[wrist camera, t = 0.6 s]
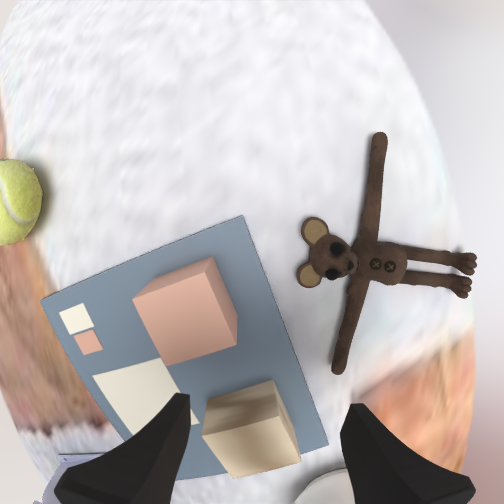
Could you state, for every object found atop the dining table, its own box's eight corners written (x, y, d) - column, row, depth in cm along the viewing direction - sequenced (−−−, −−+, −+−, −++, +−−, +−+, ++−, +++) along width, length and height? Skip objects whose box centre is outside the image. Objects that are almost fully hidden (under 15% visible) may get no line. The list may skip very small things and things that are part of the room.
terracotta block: (179, 334, 21) (166, 366, 17) (153, 278, 21) (132, 299, 16) (237, 315, 21) (236, 344, 17) (212, 255, 20) (204, 271, 16)
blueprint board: (161, 478, 25) (159, 482, 24) (43, 298, 21) (39, 301, 21) (327, 440, 24) (329, 445, 24) (242, 215, 21) (242, 215, 20)
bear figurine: (444, 379, 21) (285, 394, 19) (419, 357, 25) (273, 362, 23) (492, 166, 18) (333, 105, 16) (459, 167, 22) (310, 121, 20)
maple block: (233, 442, 23) (232, 478, 19) (207, 398, 22) (201, 436, 18) (293, 425, 23) (301, 461, 19) (272, 379, 22) (278, 415, 18)
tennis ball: (-9, 142, 13) (-57, 191, 13) (23, 238, 15) (-27, 273, 15) (40, 141, 19) (-9, 179, 19) (68, 216, 21) (16, 246, 21)
